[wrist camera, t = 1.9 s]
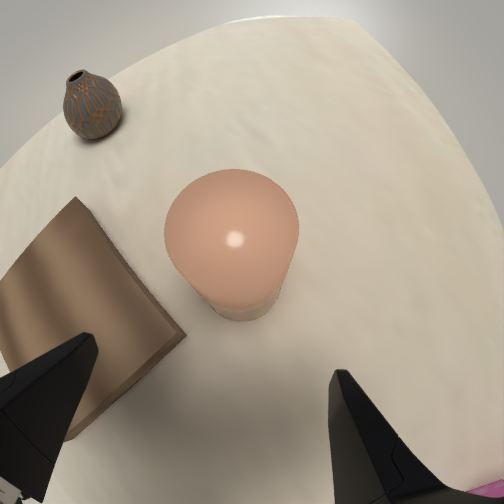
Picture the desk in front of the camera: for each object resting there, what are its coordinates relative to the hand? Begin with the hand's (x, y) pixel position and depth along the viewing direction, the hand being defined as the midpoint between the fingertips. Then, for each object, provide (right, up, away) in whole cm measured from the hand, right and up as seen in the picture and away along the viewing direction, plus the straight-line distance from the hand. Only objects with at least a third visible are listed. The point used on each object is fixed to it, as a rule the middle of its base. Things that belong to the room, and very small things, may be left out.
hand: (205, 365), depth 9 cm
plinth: (-15, -3, +12) cm, 19 cm away
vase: (-17, +19, +21) cm, 33 cm away
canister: (+1, +1, +14) cm, 14 cm away
